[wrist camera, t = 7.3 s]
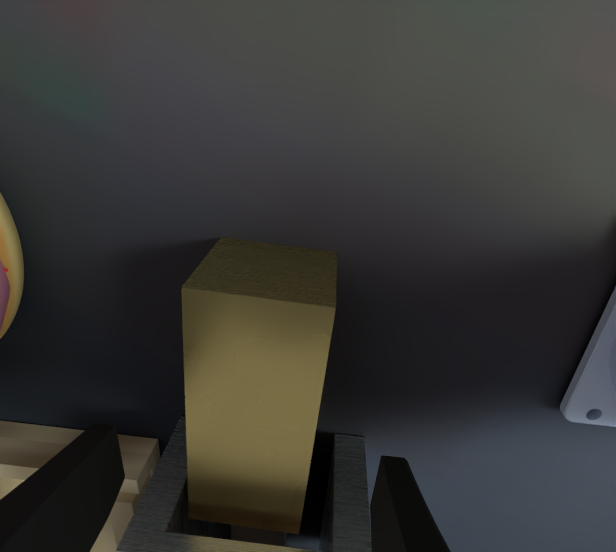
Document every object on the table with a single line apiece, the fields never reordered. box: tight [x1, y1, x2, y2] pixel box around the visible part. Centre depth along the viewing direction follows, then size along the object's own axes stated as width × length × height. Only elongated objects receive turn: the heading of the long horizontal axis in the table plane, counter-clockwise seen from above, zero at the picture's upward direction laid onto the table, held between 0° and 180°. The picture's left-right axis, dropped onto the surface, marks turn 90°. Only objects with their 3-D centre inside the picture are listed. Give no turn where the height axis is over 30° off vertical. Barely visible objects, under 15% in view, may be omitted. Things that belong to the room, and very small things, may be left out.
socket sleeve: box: [116, 416, 372, 552], centre depth 15 cm, size 8×7×5 cm
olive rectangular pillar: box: [181, 237, 337, 534], centre depth 13 cm, size 9×4×4 cm, turn 174°
